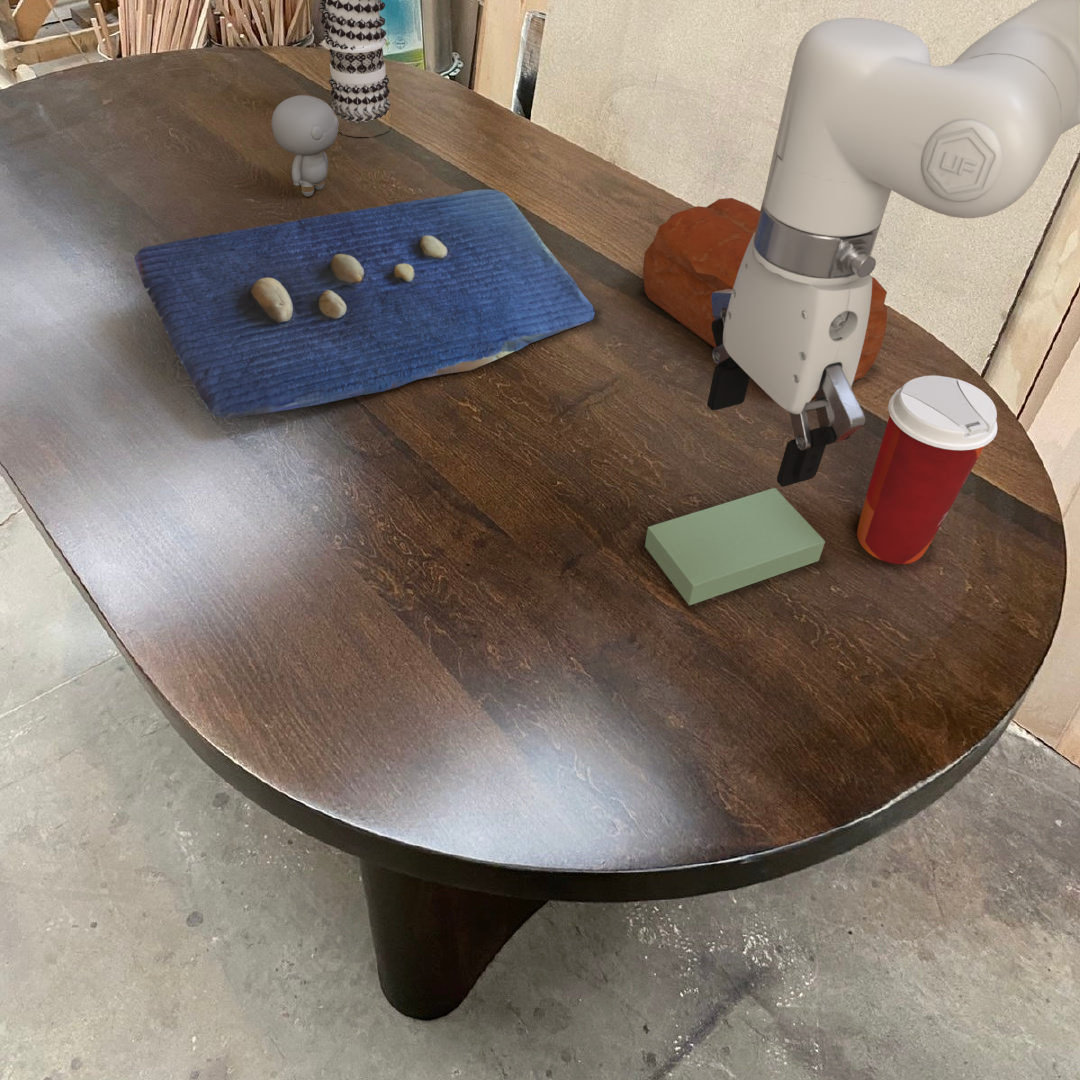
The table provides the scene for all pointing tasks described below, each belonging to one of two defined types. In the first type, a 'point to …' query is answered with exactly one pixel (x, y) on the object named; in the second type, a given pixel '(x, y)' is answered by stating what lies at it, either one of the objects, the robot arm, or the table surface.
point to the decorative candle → (356, 58)
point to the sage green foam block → (733, 545)
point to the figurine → (306, 137)
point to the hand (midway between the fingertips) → (758, 441)
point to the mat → (357, 300)
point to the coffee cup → (923, 464)
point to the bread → (721, 269)
